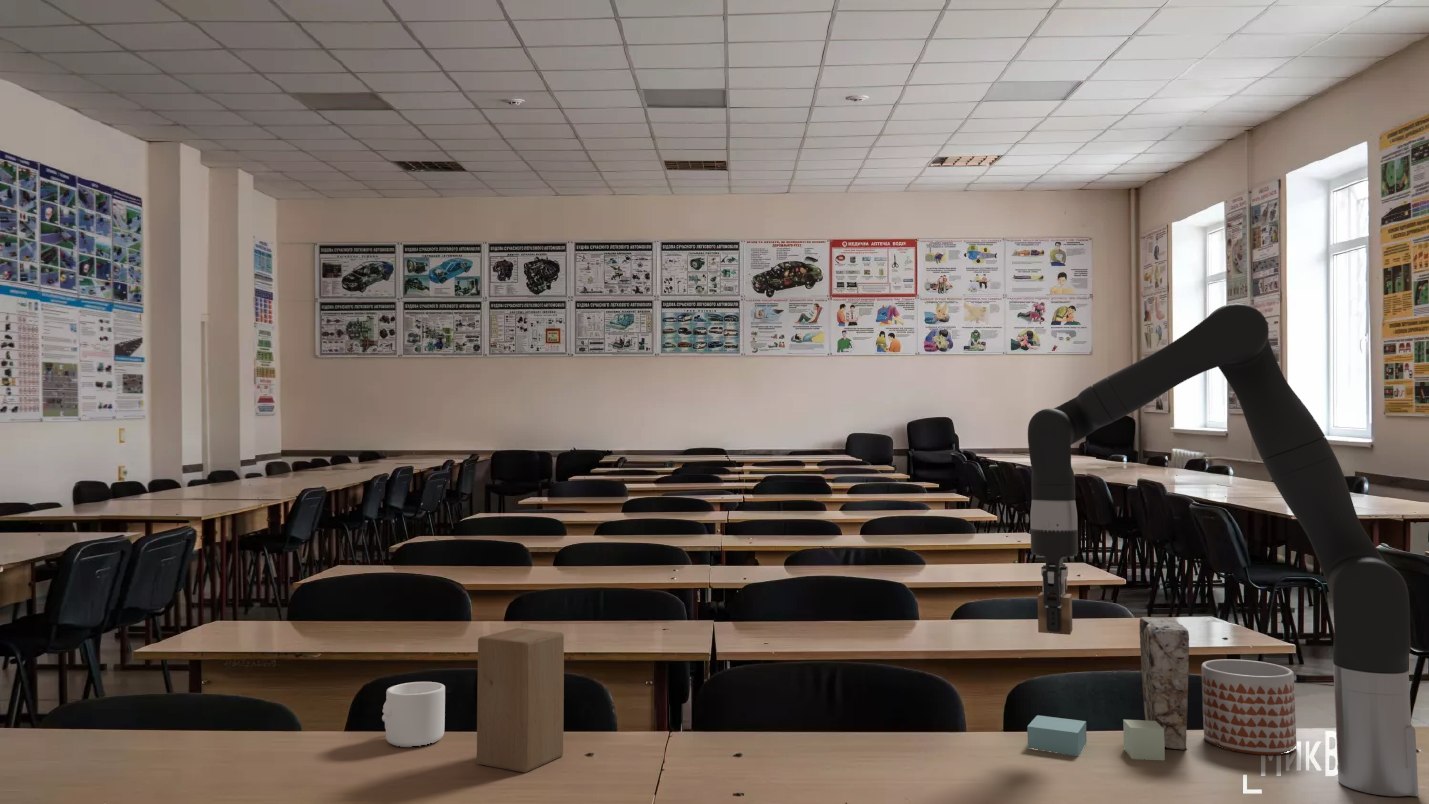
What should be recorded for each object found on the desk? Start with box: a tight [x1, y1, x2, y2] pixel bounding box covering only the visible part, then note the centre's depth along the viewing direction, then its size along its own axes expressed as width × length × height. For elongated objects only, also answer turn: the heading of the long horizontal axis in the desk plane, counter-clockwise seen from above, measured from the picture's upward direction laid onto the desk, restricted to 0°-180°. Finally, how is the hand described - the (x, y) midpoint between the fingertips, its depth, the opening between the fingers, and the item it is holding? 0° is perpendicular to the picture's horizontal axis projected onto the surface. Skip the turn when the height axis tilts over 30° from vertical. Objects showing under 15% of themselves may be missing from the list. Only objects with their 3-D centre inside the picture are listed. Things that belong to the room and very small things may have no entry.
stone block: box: [1139, 616, 1190, 751], centre depth 166 cm, size 13×7×20 cm, turn 171°
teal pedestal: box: [1026, 714, 1087, 757], centre depth 162 cm, size 8×8×4 cm
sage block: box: [1122, 719, 1166, 761], centre depth 157 cm, size 5×5×5 cm
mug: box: [381, 681, 446, 748], centre depth 167 cm, size 12×10×9 cm
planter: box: [1201, 658, 1297, 756], centre depth 163 cm, size 14×14×13 cm
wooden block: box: [476, 627, 565, 774], centre depth 156 cm, size 10×10×20 cm
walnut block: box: [1037, 591, 1073, 636], centre depth 162 cm, size 5×5×6 cm
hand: (1055, 628), depth 162 cm, fingers closed on walnut block, 5 cm apart
